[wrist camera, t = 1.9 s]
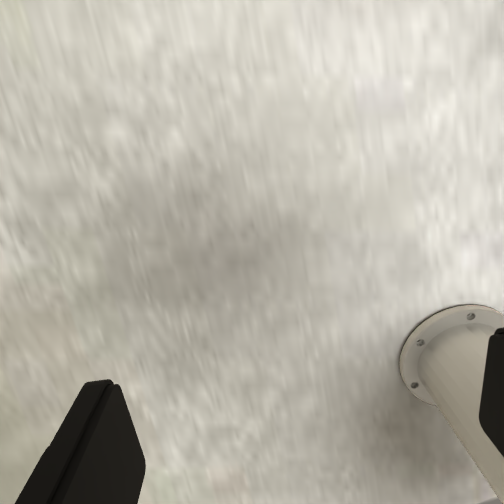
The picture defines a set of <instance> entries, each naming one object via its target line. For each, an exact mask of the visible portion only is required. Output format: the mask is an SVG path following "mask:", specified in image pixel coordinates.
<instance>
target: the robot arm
mask: <svg viewBox="0 0 504 504" xmlns="http://www.w3.org/2000/svg"><path fill="white" fill-rule="evenodd" d="M399 366H400V374H401V376H402V379H403V381H404V383H405V384H406V386H407V388H408V389H409V391H410V392H411V393H412V394H413V395H414V396H415V397H417V398H418V399H420V400H421V401H423V402H426V403H428V404H430V405H435V406H437V407H438V408H439V410H440V411H441V413H442V414H443V416H444V417H445V419H446V420H447V422H448V423H449V425H450V426H451V428H452V429H453V431H454V432H455V434H456V435H457V437H458V438H459V440H460V441H461V443H462V444H463V446H464V447H465V449H466V450H467V452H468V453H469V455H470V456H471V458H472V459H473V461H474V462H475V464H476V465H477V467H478V468H479V470H480V471H481V473H482V474H483V476H484V477H485V479H486V480H487V482H488V483H489V485H490V486H491V488H492V489H493V491H494V492H495V494H496V495H497V497H498V498H499V499H500V501H501V503H502V504H504V315H503V314H502V313H500V312H498V311H496V310H494V309H492V308H489V307H485V306H479V305H465V306H457V307H454V308H450V309H446V310H444V311H442V312H439V313H437V314H435V315H433V316H432V317H430V318H429V319H427V320H425V321H424V322H423V323H422V324H421V325H419V326H418V327H417V328H416V329H415V330H414V331H413V333H412V334H411V335H410V336H409V338H408V339H407V341H406V343H405V345H404V346H403V349H402V352H401V355H400V363H399ZM145 468H146V464H145V458H144V455H143V452H142V449H141V446H140V443H139V440H138V437H137V434H136V431H135V428H134V425H133V422H132V419H131V416H130V413H129V410H128V408H127V405H126V402H125V399H124V396H123V393H122V390H121V387H120V386H119V385H118V384H115V385H114V383H113V382H112V381H111V380H109V379H107V380H99V381H92V382H87V383H85V384H84V386H83V387H82V389H81V391H80V392H79V394H78V396H77V398H76V399H75V401H74V403H73V405H72V407H71V408H70V410H69V412H68V414H67V416H66V417H65V419H64V421H63V423H62V424H61V426H60V428H59V430H58V432H57V433H56V435H55V437H54V439H53V441H52V442H51V444H50V446H48V447H47V449H46V450H45V452H44V453H43V455H42V456H41V458H40V460H39V462H38V464H37V465H36V467H35V469H34V471H33V472H32V474H31V476H30V478H29V479H28V481H27V483H26V485H25V486H24V488H23V490H22V492H21V494H20V495H19V497H18V499H17V501H16V502H15V504H137V503H138V499H139V495H140V491H141V487H142V483H143V479H144V475H145Z"/></svg>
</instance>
